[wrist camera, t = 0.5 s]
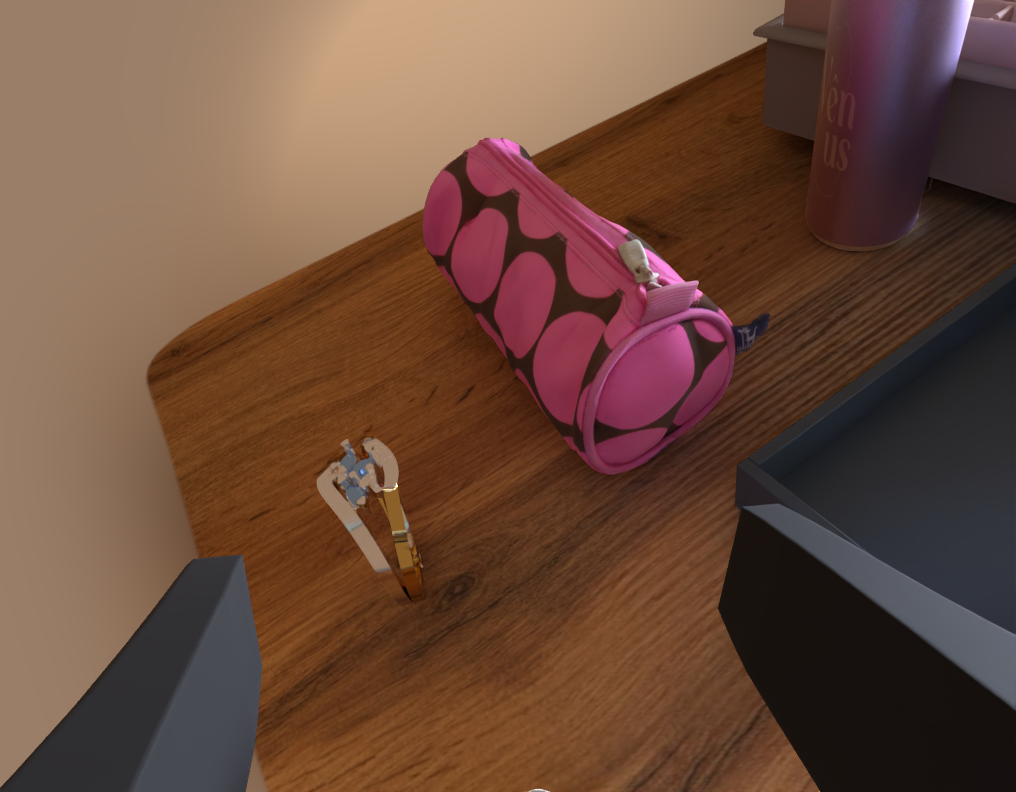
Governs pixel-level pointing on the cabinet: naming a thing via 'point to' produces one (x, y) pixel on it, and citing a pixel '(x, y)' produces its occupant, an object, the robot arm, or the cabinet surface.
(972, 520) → the dish
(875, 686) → the robot arm
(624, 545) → the cabinet surface
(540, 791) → the bottle
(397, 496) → the ring
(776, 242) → the cabinet surface
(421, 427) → the cabinet surface
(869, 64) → the beverage can
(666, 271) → the pencil case
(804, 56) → the organizer tray
